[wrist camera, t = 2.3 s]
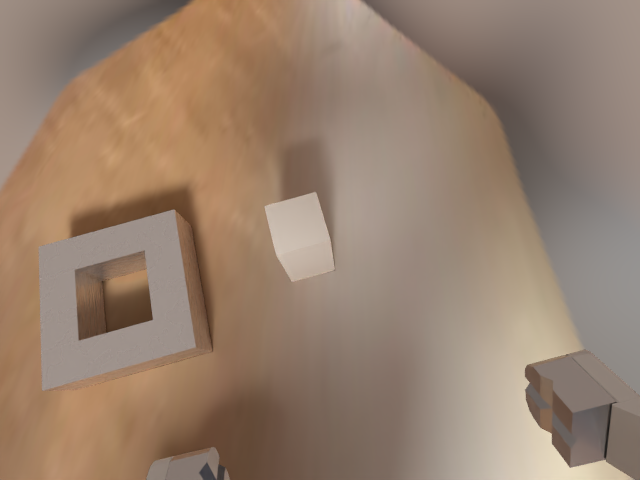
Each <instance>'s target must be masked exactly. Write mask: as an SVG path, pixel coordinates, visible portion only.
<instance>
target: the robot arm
mask: <svg viewBox="0 0 640 480" xmlns="http://www.w3.org/2000/svg"><path fill="white" fill-rule="evenodd" d="M525 377H526V378H527V380H528V381H529V382H530V384H529V385H528V387H527V388H526V389H525V392H526V401H527V404H528V407H529V410H530V412H531V414H532V416H533V418H534V419H535V421H536V422H537V424H538V425H539V426H540V428H542V429H544V430H546V431H548V432H550V433H552V444H553V445H554V447H555V448H556V449H557V451H558V452H559V453H560V455H561V456H562V457H563V459H564V460H565V462H566V463H567V464H568V466H569V467H570V468H571V467H575V466H579V465H584V464H588V463H593V462H597V461H601V460H606V462H608V463H609V464H611V465H612V466H614V467H616V468H617V469H619V470H620V471H622V472H624V473H625V474H627V475H629V476H630V477H632V478H633V479H635V480H640V396H639V395H638V394H637V393H636V392H635V391H634V390H633V389H631V388H630V387H629V386H628V385H627V384H626V383H625V382H624V381H623V380H621V379H620V378H619V377H618V376H617V375H616V374H615V373H614V372H613V371H611V370H610V369H609V368H608V367H607V366H606V365H605V364H604V363H602V362H601V361H600V360H599V359H598V358H597V357H595V355H594V354H592V353H591V352H589V351H587V350H582V351H578V352H574V353H570V354H567V355H562V356H558V357H555V358H551V359H547V360H544V361H540V362H536V363H533V364H529V365H527V366H526V368H525ZM146 480H230V478H229V475H228V472H227V470H226V468H225V467H223V466H221V465H219V454H218V452H217V450H216V449H215V447H210V448H206V449H202V450H197V451H193V452H189V453H184V454H180V455H176V456H172V457H168V458H164V459H160V460H156V461H154V462H153V464H152V465H151V466H150V468H149V472H148V475H147V478H146Z"/></svg>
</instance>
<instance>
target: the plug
mask: <svg viewBox="0 0 640 480" xmlns="http://www.w3.org/2000/svg"><path fill="white" fill-rule="evenodd" d="M264 207H265V211H266V215H267V219H268V223H269V227H270V231H271V236H272V240H273V244H274V248H275V252H276V256H277V257H278V259H279V261H280V263H281V264H282V266H283V268H284V269H285V271H286V273H287V275H288V276H289V278H290V280H291V281H292V282H295V281H298V280H302V279H305V278H309V277H312V276H316V275H319V274H323V273H327V272H330V271H334V270H335V267H334V260H333V253H332V246H331V240H330V236H329V233H328V230H327V226H326V223H325V220H324V216H323V213H322V210H321V206H320V203H319V199H318V196H317V193H316V192H313V193H310V194H306V195H303V196H299V197H295V198H292V199H288V200H284V201H281V202H277V203H274V204H270V205H266V206H264Z"/></svg>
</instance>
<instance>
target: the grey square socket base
mask: <svg viewBox="0 0 640 480" xmlns="http://www.w3.org/2000/svg"><path fill="white" fill-rule="evenodd" d="M145 269H147V275H148V283H149V291H150V299H151V307H152V316H153V320H151V321H147V322H144V323H140V324H137V325H133V326H129V327H126V328H122V329H119V330H115V331H112V332H108V333H106V320H105V308H104V295H103V283H102V281H105V280H109V279H112V278H116V277H119V276H123V275H127V274H130V273H134V272H137V271H141V270H145ZM39 279H40V321H41V363H42V391H59V390H78V389H82V388H85V387H89V386H92V385H96V384H99V383H103V382H106V381H110V380H114V379H117V378H121V377H124V376H128V375H131V374H135V373H138V372H142V371H145V370H149V369H152V368H156V367H159V366H163V365H166V364H170V363H173V362H177V361H181V360H184V359H188V358H191V357H195V356H198V355H202V354H205V353H209V352H212V351H213V350H212V344H211V338H210V332H209V326H208V320H207V314H206V308H205V303H204V297H203V291H202V285H201V279H200V273H199V267H198V261H197V255H196V249H195V243H194V238H193V232H192V226H191V225H190V224H189V223H188V222H187V221H186V220H185V219H184V218H183V217H182V216H181V215H180V214H179V213H178V212H177V211H176V210H175V209H174V210H170V211H167V212H163V213H159V214H156V215H152V216H148V217H145V218H141V219H138V220H134V221H130V222H127V223H123V224H119V225H116V226H112V227H109V228H105V229H101V230H98V231H94V232H90V233H87V234H83V235H80V236H76V237H72V238H69V239H65V240H61V241H58V242H54V243H51V244H47V245H43V246H40V247H39Z"/></svg>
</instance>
